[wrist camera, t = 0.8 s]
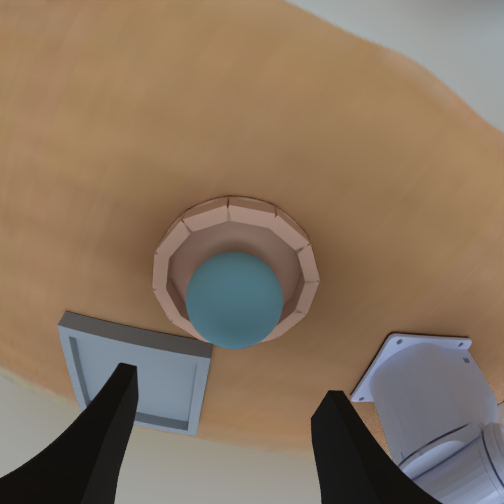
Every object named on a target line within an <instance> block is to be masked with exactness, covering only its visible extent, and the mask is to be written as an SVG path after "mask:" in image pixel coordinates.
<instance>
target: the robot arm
mask: <svg viewBox="0 0 504 504" xmlns="http://www.w3.org/2000/svg"><path fill="white" fill-rule="evenodd" d="M471 344H472V341H471V339H470V338H457V337H438V336H423V335H409V334H396V333H395V334H391V335H390V336H389V337H388V338H387V340H386V341H385V343H384V345H383V346H382V348H381V350H380V351H379V353H378V355H377V356H376V358H375V360H374V361H373V363H372V364H371V366H370V368H369V369H368V371H367V372H366V374H365V375H364V377H363V378H362V380H361V382H360V383H359V385H358V386H357V388H356V389H355V391H354V392H353V394H352V395H351V397H350V398H351V401H352V402H374V404H375V407H376V410H377V413H378V416H379V419H380V422H381V425H382V428H383V432H384V435H385V438H386V441H387V444H388V448H389V451H390V454H391V457H392V460H391V459H390V457H389V456H388V455H387V454H386V453H385V451H384V450H383V449H382V448H381V446H380V445H379V444H378V442H377V441H376V440H375V438H374V437H373V436H372V434H371V433H370V431H369V430H368V428H367V427H366V426H365V424H364V423H363V421H362V420H361V418H360V417H359V415H358V414H357V412H356V410H355V409H354V407H353V406H352V404H351V403H350V401H349V400H348V398H347V396H346V395H345V393H344V392H343V391H334V390H329V391H328V392H327V394H326V395H325V397H324V399H323V400H322V402H321V404H320V405H319V407H318V408H317V410H316V411H315V413H314V414H313V416H312V418H311V433H312V444H313V450H314V456H315V461H316V466H317V472H318V478H319V483H320V489H321V502H322V504H504V425H503V424H501V423H496V420H497V414H498V406H497V400H496V397H495V394H494V392H493V390H492V389H491V387H490V385H489V383H488V382H487V380H486V378H485V377H484V375H483V374H482V372H481V370H480V369H479V367H478V365H477V364H476V362H475V361H474V359H473V357H472V356H471V354H470V353H469V351H468V348H469V347H470V345H471ZM138 400H139V392H138V375H137V366H135V365H131V364H126V363H122V362H121V363H119V364H118V365H117V367H116V368H115V370H114V372H113V373H112V375H111V376H110V377H109V379H108V380H107V382H106V383H105V384H104V386H103V387H102V389H101V390H100V391H99V392H98V394H97V395H96V396H95V397H94V399H93V400H92V401H91V403H90V404H89V405H88V406H87V407H86V409H85V410H84V411H83V412H82V413H81V414H80V415H79V416H78V417H77V419H76V420H75V421H74V422H73V423H72V424H71V425H70V426H69V427H68V428H67V429H66V430H65V431H64V432H63V433H62V434H61V435H60V436H59V437H58V438H57V439H56V440H54V441H53V442H52V443H51V444H50V445H49V446H47V447H46V448H45V449H44V450H43V451H41V452H40V453H39V454H38V455H36V456H35V457H33V458H32V459H30V460H29V461H28V462H26V463H25V464H23V465H22V466H21V467H19V468H17V469H16V470H14V471H12V472H10V473H9V474H7V475H5V476H3V477H1V478H0V504H114V501H115V494H116V488H117V481H118V476H119V471H120V467H121V464H122V461H123V457H124V454H125V450H126V447H127V444H128V440H129V437H130V434H131V430H132V427H133V424H134V420H135V415H136V410H137V405H138Z"/></svg>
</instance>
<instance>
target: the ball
mask: <svg viewBox="0 0 504 504" xmlns="http://www.w3.org/2000/svg"><path fill="white" fill-rule="evenodd" d="M282 308H283V292H282V288H281V285H280V282H279V280H278V278H277V276H276V275H275V273H274V271H273V270H272V269H271V268H270V267H269V266H268V265H267V264H266V263H265V262H263V261H262V260H261V259H259V258H257V257H255V256H253V255H250V254H247V253H243V252H226V253H222V254H218V255H216V256H213V257H211V258H209V259H208V260H206V261H205V262H204V263H202V264H201V265H200V266H199V267H198V268H197V270H196V271H195V272H194V274H193V275H192V277H191V279H190V281H189V284H188V287H187V291H186V310H187V313H188V317H189V319H190V321H191V323H192V325H193V327H194V328H195V330H196V331H197V332H198V333H199V334H200V335H201V336H202V337H203V338H204V339H206V340H207V341H208V342H210V343H212V344H214V345H217V346H219V347H223V348H228V349H241V348H246V347H250V346H252V345H255V344H257V343H259V342H261V341H262V340H263V339H265V338H266V337H267V336H268V335H269V334H270V333H271V332H272V331H273V329H274V328H275V327H276V325H277V323H278V321H279V319H280V316H281V313H282Z"/></svg>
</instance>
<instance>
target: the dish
mask: <svg viewBox="0 0 504 504" xmlns="http://www.w3.org/2000/svg"><path fill="white" fill-rule="evenodd" d="M226 252H243V253H247V254H250V255H253V256H255V257H257V258H259V259H261V260H262V261H263V262H265V263H266V264H267V265H268V266H269V267H270V268H271V269H272V270H273V271H274V273H275V275H276V276H277V278H278V280H279V282H280V285H281V288H282V292H283V308H282V313H281V316H280V319H279V321H278V323H277V325H276V327H275V328H274V329H273V331H272V332H271V333H270V334H269V335H268V336H267V337H266V338H265V339H263V340H262V341H261V342H265V341H269V340H273V339H277V337H280V336H281V335H283V334H284V333H285V332H287V331H288V330H289V329H290V328H292V327H293V326H294V325H295V324H297V323H298V322H299V321H300V320H301V319H303V318H304V317H305V316H306V314H308V311H309V309H310V306H311V303H312V301H313V298H314V296H315V293H316V291H317V288H318V285H319V283H320V282H319V280H320V279H319V275H318V271H317V267H316V263H315V259H314V255H313V251H312V247H311V244H310V241H309V239H308V236H307V235H306V233H305V232H304V231H303V230H302V229H301V228H300V226H299V225H298V224H297V223H296V221H295V220H294V219H293V218H292V217H291V216H289V215H288V214H287V213H285V212H284V211H283V210H281V209H279V208H278V207H276V206H274V205H272V204H270V203H267V202H265V201H262V200H258V199H255V198H250V197H242V196H228V197H220V198H215V199H211V200H207V201H205V202H202V203H200V204H197V205H196V206H194V207H192V208H190V209H189V210H187V211H186V212H184V213H183V214H182V215H181V216H179V217H178V219H177V220H176V221H175V222H174V223H173V224H172V225H171V227H170V228H169V229H168V231H167V233H166V235H165V236H164V237H163V239H162V240H161V241H160V243H159V245H158V247H157V249H156V251H155V254H154V267H153V283H152V289H153V292H154V294H155V296H156V297H157V299H158V301H159V303H160V304H161V306H162V308H163V310H164V311H165V313H166V315H167V316H168V318H169V320H172V321H171V322H172V323H174V324H175V325H177V326H178V327H180V328H181V329H183V330H185V331H186V332H188V333H189V334H191V335H193V336H194V337H196V338H197V339H199V340H201V341H202V340H203V339H204V338H203V337H202V336H201V335H200V334H199V333H198V332H197V331H196V330H195V328H194V327H193V325H192V323H191V321H190V319H189V317H188V313H187V310H186V291H187V287H188V284H189V281H190V279H191V277H192V275H193V274H194V272H195V271H196V270H197V268H198V267H199V266H200V265H201V264H202V263H204V262H205V261H206V260H208V259H209V258H211V257H213V256H216V255H218V254H222V253H226ZM204 342H208V341H207V340H206V339H204ZM261 342H259V343H261ZM208 343H210V342H208Z"/></svg>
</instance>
